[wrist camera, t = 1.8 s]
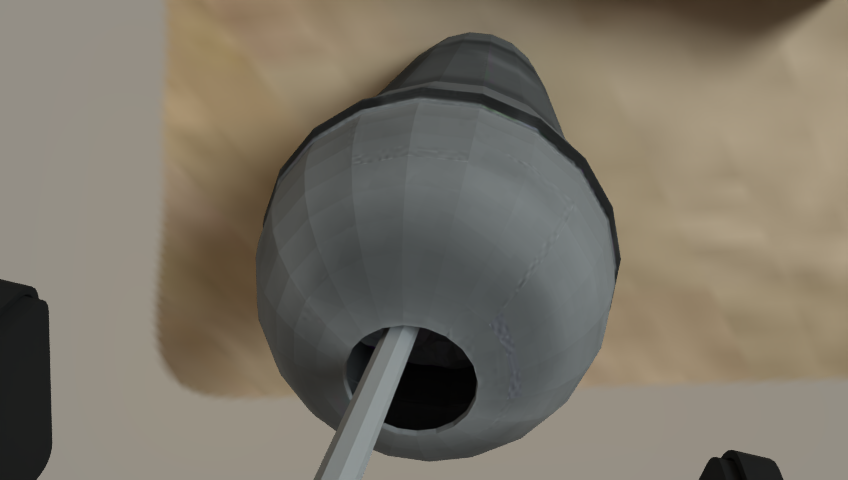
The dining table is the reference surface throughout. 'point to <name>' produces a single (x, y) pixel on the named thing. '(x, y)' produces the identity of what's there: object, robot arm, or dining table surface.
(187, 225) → the dining table surface
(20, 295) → the robot arm
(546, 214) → the beverage cup
